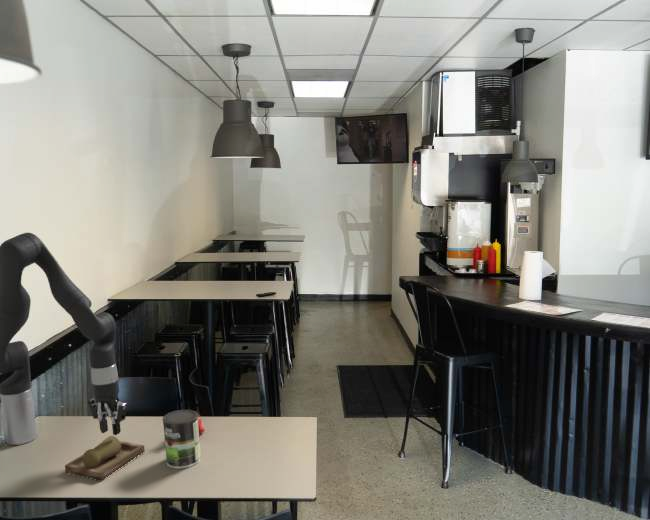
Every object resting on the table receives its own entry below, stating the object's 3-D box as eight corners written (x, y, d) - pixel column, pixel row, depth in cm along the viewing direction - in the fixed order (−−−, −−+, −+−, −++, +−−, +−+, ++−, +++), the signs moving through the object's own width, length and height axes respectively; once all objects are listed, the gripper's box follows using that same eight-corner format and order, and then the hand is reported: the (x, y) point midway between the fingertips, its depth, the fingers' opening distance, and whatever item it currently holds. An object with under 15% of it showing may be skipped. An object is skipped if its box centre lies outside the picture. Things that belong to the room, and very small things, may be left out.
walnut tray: (65, 473, 173) (64, 465, 173) (110, 446, 190) (109, 439, 189) (101, 481, 168) (101, 473, 167) (144, 452, 184) (144, 445, 184)
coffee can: (184, 472, 171) (180, 426, 169) (159, 464, 176) (154, 419, 174) (208, 456, 179) (205, 412, 177) (184, 449, 185) (180, 407, 183)
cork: (121, 455, 180) (96, 471, 170) (106, 454, 182) (80, 469, 172) (120, 436, 180) (94, 451, 169) (104, 435, 182) (78, 449, 171)
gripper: (77, 381, 177) (83, 435, 179) (113, 386, 171) (119, 441, 174) (96, 373, 184) (102, 425, 186) (132, 377, 178) (137, 431, 180)
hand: (110, 432), depth 180 cm, fingers open, 4 cm apart
